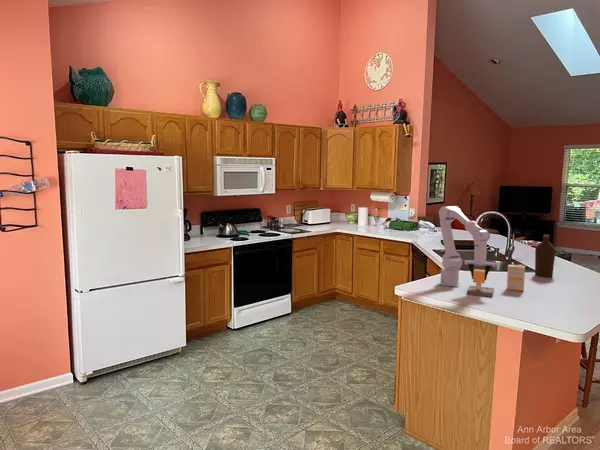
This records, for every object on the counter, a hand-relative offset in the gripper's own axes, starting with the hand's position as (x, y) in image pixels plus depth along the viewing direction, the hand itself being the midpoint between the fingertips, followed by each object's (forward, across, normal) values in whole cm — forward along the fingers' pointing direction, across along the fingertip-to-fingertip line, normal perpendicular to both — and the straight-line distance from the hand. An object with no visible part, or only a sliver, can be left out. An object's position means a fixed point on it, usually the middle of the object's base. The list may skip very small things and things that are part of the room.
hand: (479, 279), depth 224 cm
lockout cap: (+2, 0, 0) cm, 2 cm away
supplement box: (+8, +17, +17) cm, 25 cm away
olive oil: (+8, +32, +60) cm, 68 cm away
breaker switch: (+5, 0, 0) cm, 5 cm away
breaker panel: (+8, +1, +2) cm, 8 cm away
